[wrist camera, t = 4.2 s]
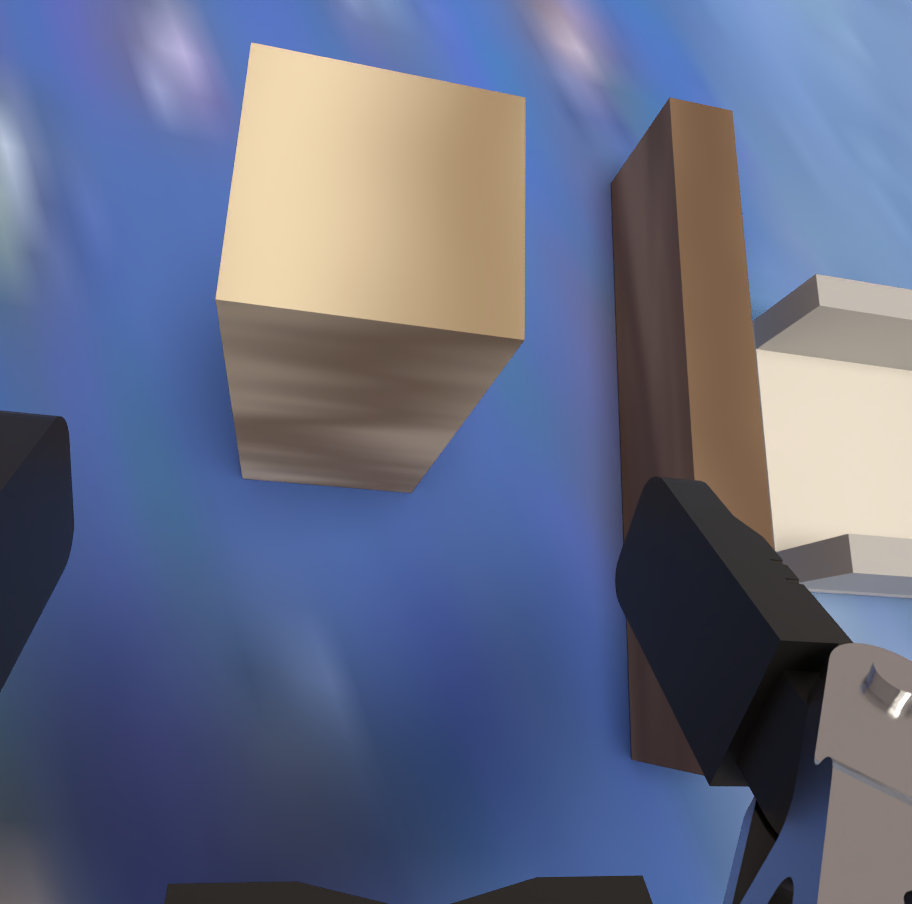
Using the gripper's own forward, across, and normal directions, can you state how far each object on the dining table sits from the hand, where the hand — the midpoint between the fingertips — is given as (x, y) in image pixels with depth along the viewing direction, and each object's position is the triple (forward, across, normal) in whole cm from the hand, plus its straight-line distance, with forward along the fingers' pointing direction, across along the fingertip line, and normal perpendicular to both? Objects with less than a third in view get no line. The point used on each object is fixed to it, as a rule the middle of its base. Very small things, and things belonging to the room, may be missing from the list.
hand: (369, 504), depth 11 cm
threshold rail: (+10, -9, +3) cm, 14 cm away
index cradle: (+10, -17, +3) cm, 20 cm away
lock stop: (+10, 0, +3) cm, 11 cm away
